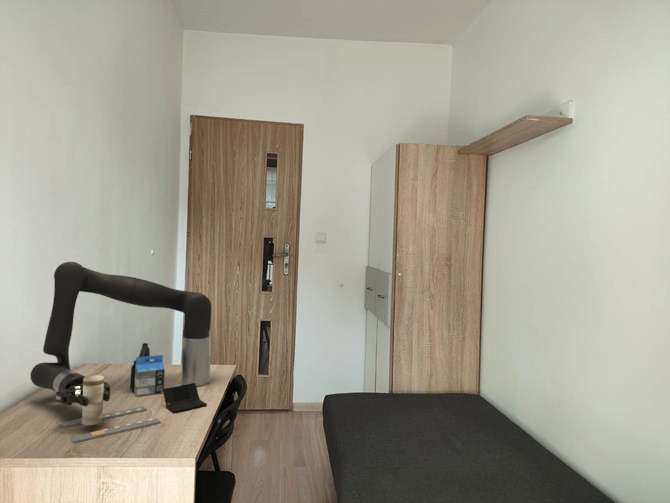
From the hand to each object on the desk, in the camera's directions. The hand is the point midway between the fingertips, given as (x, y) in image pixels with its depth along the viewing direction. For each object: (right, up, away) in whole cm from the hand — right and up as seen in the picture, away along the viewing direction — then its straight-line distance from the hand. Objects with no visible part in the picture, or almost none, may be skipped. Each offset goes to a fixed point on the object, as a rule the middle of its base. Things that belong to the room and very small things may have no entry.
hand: (97, 400), depth 121 cm
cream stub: (-2, -6, +2) cm, 7 cm away
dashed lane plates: (+1, -8, +5) cm, 10 cm away
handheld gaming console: (+17, -9, +21) cm, 28 cm away
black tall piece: (-8, -8, +46) cm, 48 cm away
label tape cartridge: (+1, -8, +31) cm, 32 cm away
